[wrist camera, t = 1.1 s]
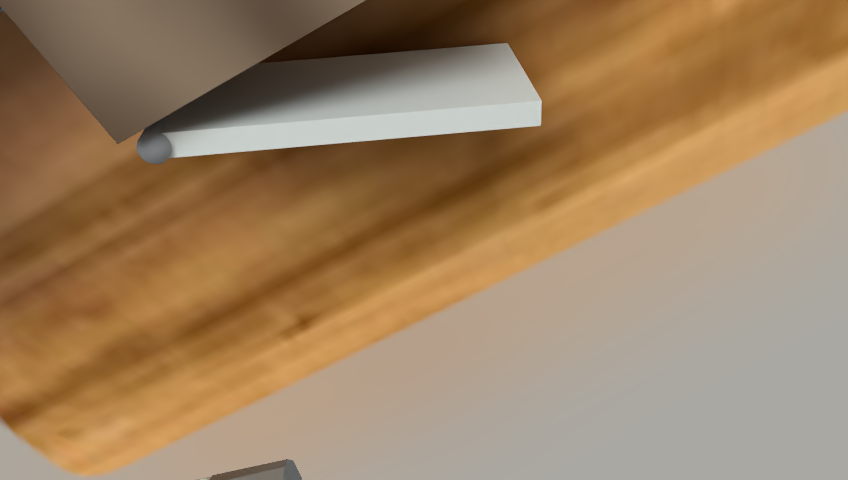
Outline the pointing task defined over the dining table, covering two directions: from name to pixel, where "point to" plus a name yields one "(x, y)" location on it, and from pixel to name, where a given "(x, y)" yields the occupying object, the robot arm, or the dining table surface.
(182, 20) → the case
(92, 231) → the dining table surface
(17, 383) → the dining table surface
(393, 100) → the door
